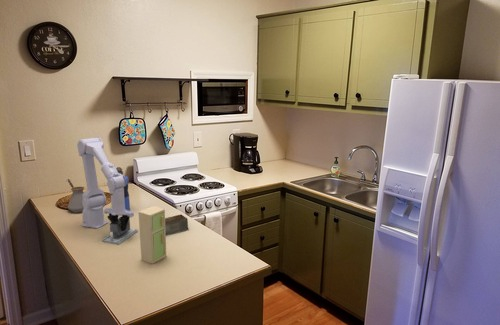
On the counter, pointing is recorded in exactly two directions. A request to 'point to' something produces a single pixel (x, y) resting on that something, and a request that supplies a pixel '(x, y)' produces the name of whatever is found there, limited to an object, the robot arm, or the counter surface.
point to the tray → (119, 239)
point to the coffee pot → (76, 199)
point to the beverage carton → (175, 224)
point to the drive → (118, 228)
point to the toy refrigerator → (152, 234)
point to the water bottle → (125, 190)
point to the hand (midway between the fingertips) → (119, 229)
